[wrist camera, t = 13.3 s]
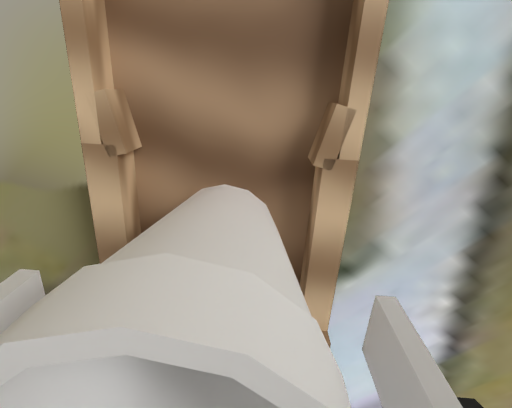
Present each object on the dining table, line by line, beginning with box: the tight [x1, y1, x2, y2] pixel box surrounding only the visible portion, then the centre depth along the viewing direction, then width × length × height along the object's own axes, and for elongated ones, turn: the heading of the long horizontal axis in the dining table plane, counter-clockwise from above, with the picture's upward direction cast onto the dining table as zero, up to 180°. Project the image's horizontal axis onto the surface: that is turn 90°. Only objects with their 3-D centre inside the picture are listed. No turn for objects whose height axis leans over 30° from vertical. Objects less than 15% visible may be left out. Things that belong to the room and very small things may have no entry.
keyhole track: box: [59, 0, 389, 348], centre depth 16 cm, size 23×14×4 cm, turn 177°
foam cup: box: [0, 184, 351, 408], centre depth 13 cm, size 10×9×13 cm
